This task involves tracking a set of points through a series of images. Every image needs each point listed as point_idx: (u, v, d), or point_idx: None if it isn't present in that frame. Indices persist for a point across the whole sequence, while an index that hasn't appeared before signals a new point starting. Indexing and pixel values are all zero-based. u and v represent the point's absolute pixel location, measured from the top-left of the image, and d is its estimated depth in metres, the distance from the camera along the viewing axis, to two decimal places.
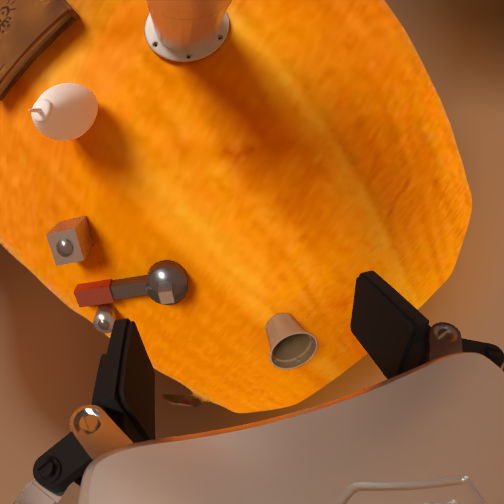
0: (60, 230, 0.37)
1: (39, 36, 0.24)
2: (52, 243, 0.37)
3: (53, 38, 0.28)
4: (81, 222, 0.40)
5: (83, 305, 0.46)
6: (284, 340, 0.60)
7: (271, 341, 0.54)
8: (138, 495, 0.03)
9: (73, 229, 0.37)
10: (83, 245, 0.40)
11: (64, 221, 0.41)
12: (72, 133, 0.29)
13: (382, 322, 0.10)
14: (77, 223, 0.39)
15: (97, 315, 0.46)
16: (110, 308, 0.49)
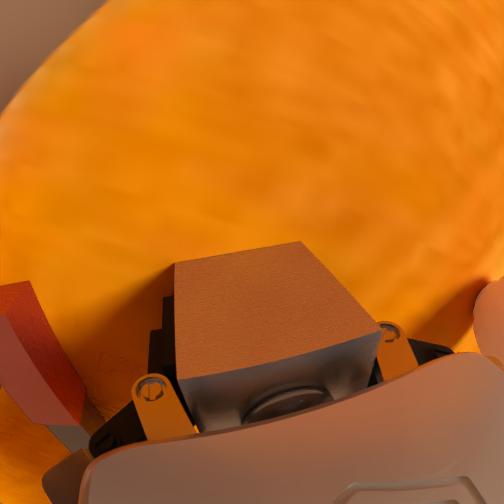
0: None
1: None
2: (329, 363, 0.07)
3: None
4: None
5: None
6: None
7: None
8: (138, 495, 0.03)
9: None
10: None
11: None
12: None
13: None
14: None
15: None
16: (1, 386, 0.10)
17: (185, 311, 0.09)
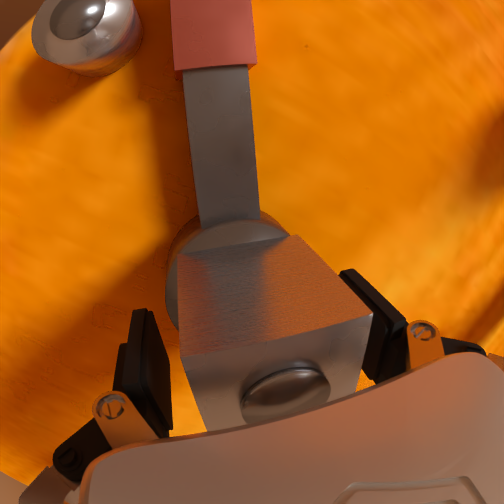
0: None
1: None
2: (323, 344, 0.08)
3: None
4: None
5: None
6: None
7: None
8: (138, 495, 0.03)
9: None
10: None
11: None
12: None
13: None
14: None
15: None
16: (127, 51, 0.10)
17: (188, 297, 0.09)
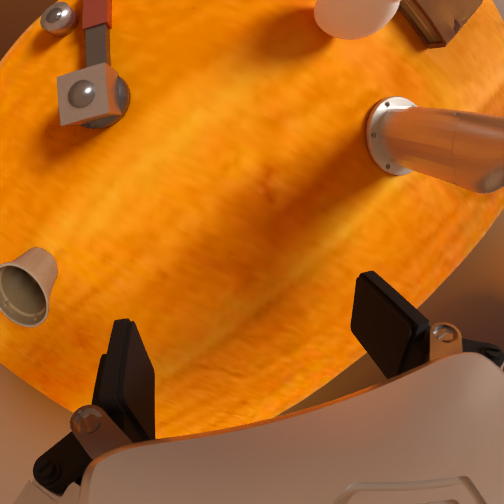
0: (108, 86, 0.22)
1: (426, 16, 0.27)
2: (90, 72, 0.21)
3: (412, 23, 0.31)
4: (114, 114, 0.26)
5: None
6: (22, 276, 0.34)
7: (23, 260, 0.29)
8: (138, 495, 0.03)
9: (107, 110, 0.23)
10: (82, 121, 0.24)
11: (117, 81, 0.26)
12: (340, 7, 0.22)
13: (382, 322, 0.10)
14: (113, 110, 0.25)
15: (69, 7, 0.20)
16: (71, 26, 0.23)
17: None
